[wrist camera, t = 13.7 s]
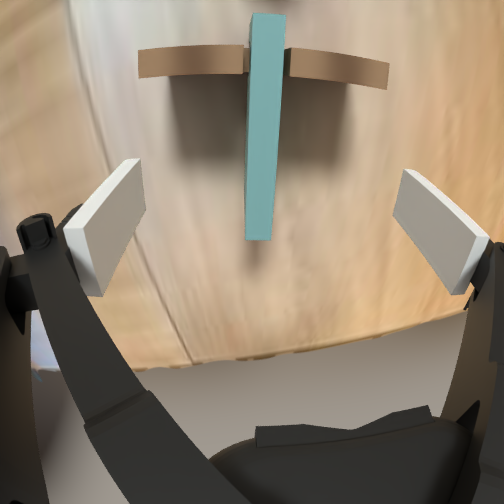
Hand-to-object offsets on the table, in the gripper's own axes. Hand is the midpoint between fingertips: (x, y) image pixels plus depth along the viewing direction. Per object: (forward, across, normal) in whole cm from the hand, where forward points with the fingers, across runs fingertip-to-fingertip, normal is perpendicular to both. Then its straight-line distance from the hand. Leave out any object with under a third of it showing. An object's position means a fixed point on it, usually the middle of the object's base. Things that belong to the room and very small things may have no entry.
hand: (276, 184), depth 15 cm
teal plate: (+22, 0, 0) cm, 22 cm away
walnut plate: (+22, 0, +6) cm, 23 cm away
